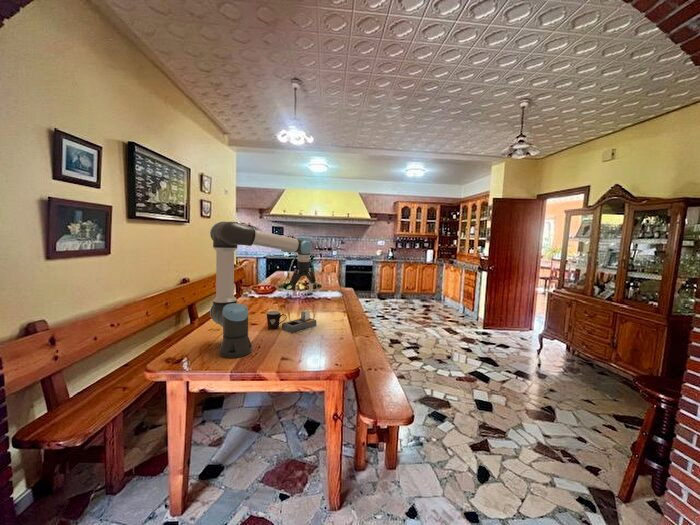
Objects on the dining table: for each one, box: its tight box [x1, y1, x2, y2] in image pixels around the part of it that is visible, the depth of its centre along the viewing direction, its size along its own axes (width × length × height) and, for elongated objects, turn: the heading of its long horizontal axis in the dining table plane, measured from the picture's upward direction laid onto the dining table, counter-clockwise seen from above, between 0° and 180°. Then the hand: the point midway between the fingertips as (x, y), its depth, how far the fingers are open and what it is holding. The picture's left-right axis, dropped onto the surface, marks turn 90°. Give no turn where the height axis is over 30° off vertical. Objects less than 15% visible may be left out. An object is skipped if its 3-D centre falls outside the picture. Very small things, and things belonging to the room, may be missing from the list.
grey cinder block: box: [281, 317, 317, 334], centre depth 186 cm, size 20×10×4 cm, turn 141°
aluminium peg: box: [300, 309, 311, 322], centre depth 189 cm, size 4×4×10 cm
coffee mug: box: [266, 310, 287, 331], centre depth 183 cm, size 12×9×10 cm
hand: (302, 294), depth 187 cm, fingers open, 13 cm apart
